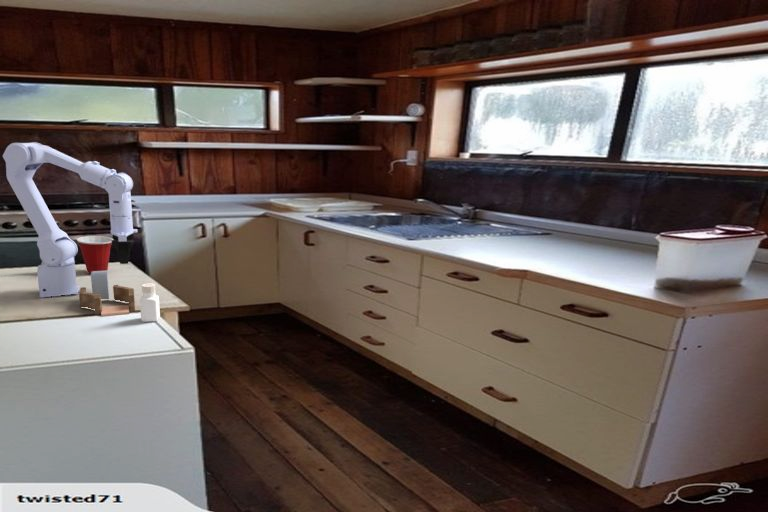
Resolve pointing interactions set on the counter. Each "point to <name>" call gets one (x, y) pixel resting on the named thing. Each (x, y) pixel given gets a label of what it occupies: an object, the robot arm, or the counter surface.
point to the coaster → (115, 310)
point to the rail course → (96, 303)
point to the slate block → (100, 283)
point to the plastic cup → (95, 252)
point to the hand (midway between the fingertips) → (124, 260)
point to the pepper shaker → (149, 303)
